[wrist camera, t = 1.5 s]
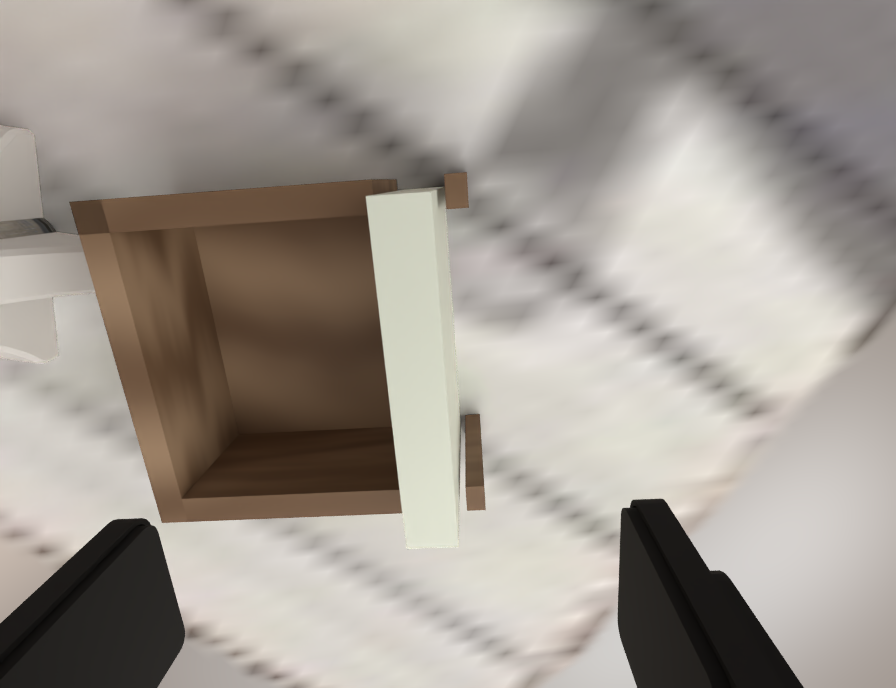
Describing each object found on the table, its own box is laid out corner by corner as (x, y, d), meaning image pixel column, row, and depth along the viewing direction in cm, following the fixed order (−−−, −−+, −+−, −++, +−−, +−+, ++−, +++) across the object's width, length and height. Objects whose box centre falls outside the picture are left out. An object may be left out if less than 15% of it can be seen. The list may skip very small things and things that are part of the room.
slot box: (173, 195, 25) (69, 202, 19) (466, 174, 24) (466, 172, 18) (230, 445, 30) (162, 522, 23) (480, 433, 29) (485, 509, 22)
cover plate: (403, 189, 25) (365, 196, 15) (444, 186, 25) (431, 191, 15) (425, 427, 29) (406, 549, 19) (460, 425, 29) (458, 547, 19)
